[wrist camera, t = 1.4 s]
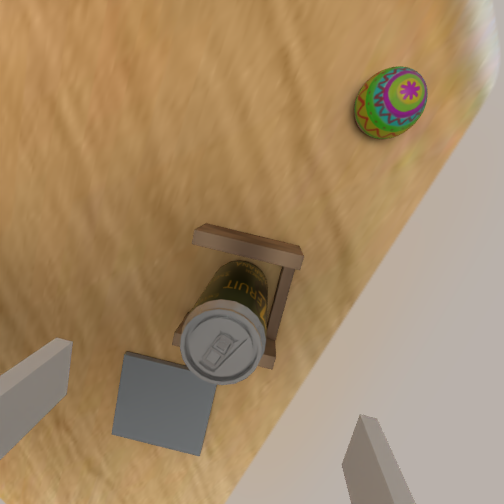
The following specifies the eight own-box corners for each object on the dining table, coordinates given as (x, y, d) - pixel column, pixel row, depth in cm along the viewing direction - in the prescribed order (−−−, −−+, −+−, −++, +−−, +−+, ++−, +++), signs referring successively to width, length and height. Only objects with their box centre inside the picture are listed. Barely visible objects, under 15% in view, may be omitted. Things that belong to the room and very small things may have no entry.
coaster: (114, 430, 34) (111, 434, 34) (126, 351, 32) (124, 354, 31) (200, 451, 34) (199, 456, 33) (219, 374, 32) (218, 377, 31)
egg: (388, 68, 25) (424, 31, 19) (418, 119, 26) (461, 99, 20) (337, 105, 26) (357, 81, 20) (367, 154, 27) (394, 144, 21)
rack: (186, 322, 31) (171, 344, 27) (206, 223, 29) (194, 229, 24) (272, 343, 31) (272, 369, 26) (298, 245, 29) (304, 256, 24)
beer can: (247, 321, 31) (233, 403, 19) (202, 291, 30) (159, 357, 18) (278, 279, 29) (283, 338, 18) (232, 248, 29) (206, 287, 17)
